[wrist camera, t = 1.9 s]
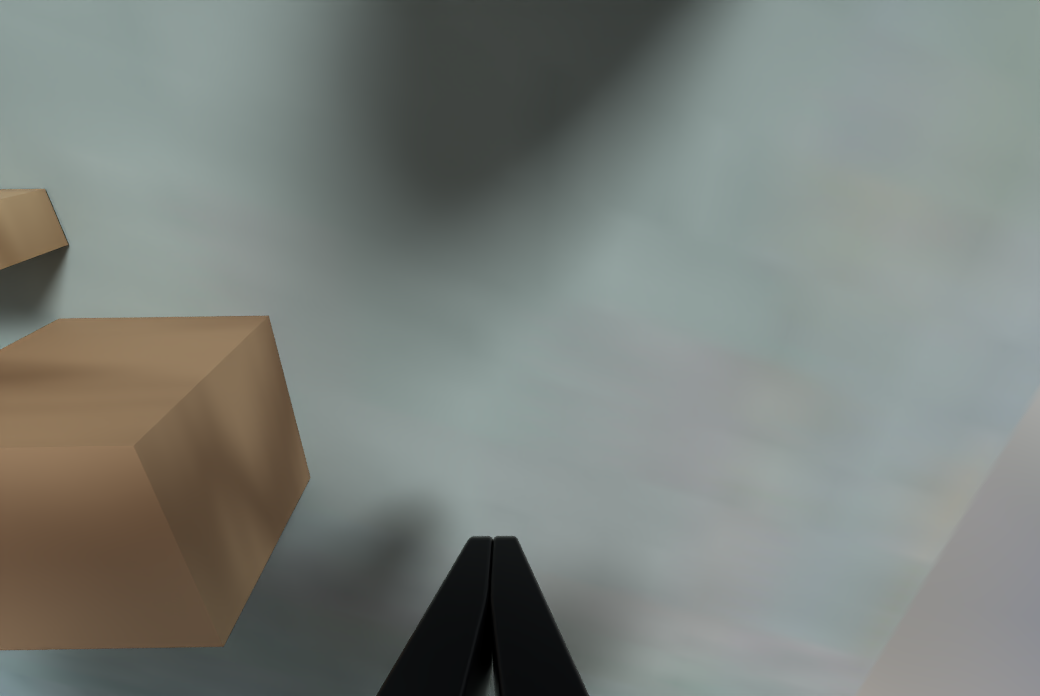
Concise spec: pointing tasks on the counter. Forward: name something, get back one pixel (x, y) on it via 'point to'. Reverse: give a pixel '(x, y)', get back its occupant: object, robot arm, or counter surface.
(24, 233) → the channel
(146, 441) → the walnut block
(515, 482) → the counter surface
